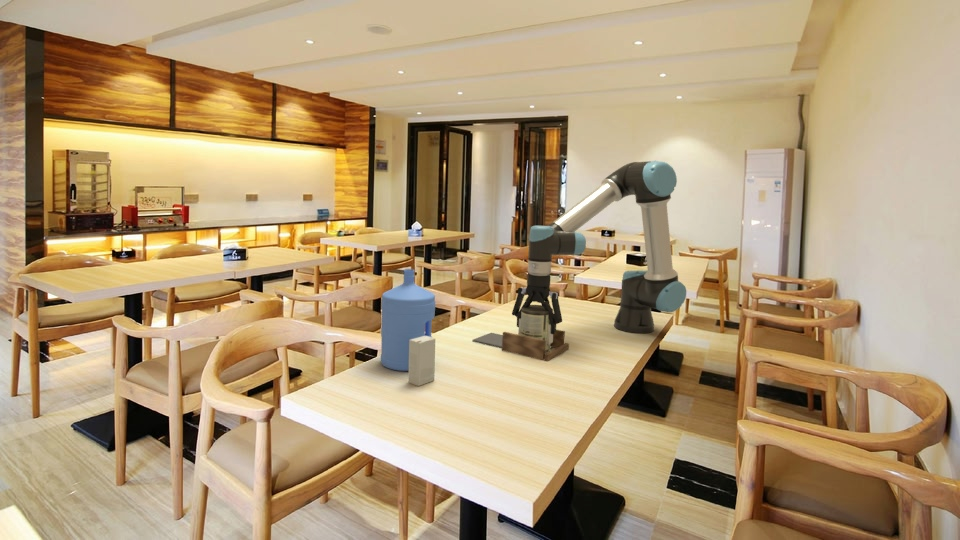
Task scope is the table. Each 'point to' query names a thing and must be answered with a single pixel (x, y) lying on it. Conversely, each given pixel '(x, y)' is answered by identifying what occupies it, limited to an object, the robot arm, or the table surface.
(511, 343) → the holder
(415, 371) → the skincare box
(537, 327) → the coffee can
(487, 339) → the mat
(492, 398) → the table surface
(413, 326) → the water jug
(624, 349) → the table surface
